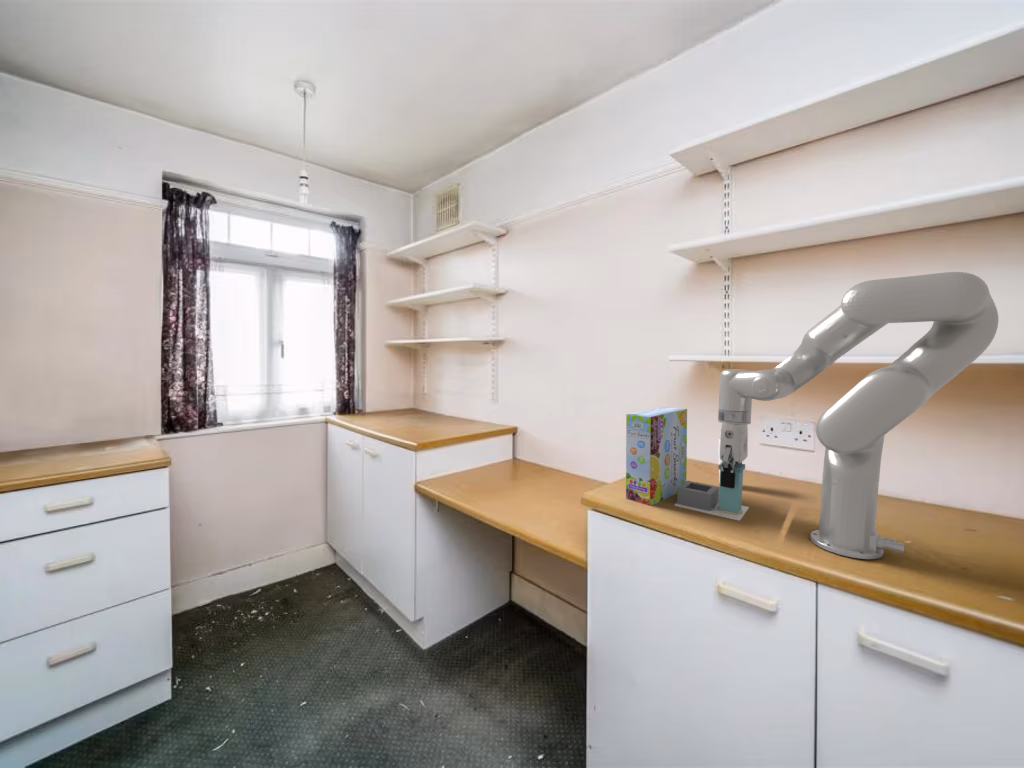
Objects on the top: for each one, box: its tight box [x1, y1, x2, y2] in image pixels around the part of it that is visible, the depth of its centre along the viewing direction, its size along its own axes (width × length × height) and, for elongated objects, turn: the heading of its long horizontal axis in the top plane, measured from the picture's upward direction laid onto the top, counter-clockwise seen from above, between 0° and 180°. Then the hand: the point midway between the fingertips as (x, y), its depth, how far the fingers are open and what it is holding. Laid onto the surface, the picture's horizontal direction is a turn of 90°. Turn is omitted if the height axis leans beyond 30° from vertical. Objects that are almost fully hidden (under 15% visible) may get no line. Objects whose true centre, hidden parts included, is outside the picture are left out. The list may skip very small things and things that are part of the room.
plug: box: [718, 463, 746, 514], centre depth 110 cm, size 5×5×12 cm
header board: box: [674, 480, 750, 522], centre depth 113 cm, size 16×12×6 cm
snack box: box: [625, 406, 688, 506], centre depth 123 cm, size 22×9×26 cm, turn 132°
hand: (731, 482), depth 110 cm, fingers open, 7 cm apart
